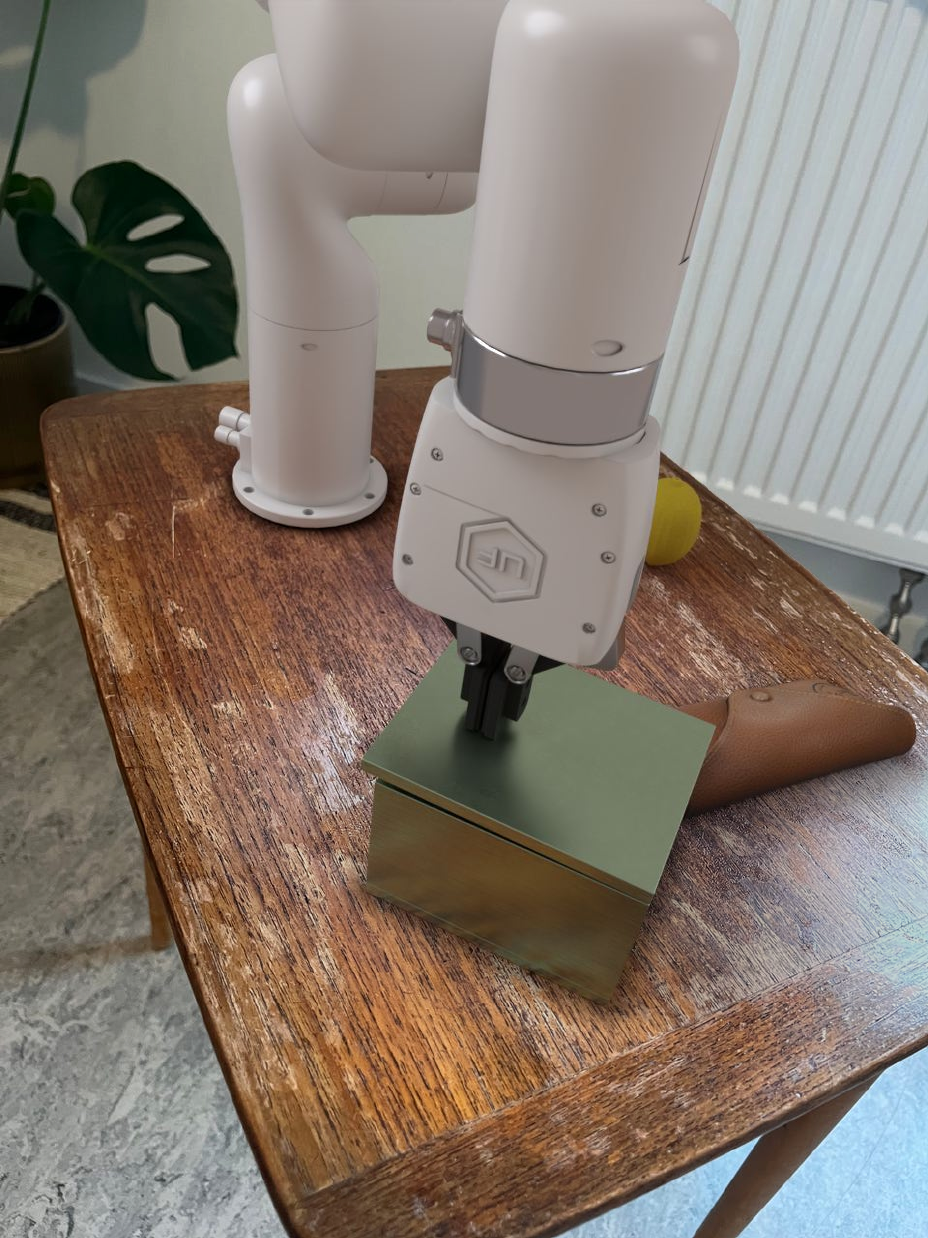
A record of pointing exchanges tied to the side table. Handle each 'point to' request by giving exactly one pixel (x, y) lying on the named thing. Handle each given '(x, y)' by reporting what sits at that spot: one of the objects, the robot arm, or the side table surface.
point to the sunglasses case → (790, 739)
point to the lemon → (673, 522)
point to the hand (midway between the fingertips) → (491, 716)
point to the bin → (500, 894)
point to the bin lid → (554, 769)
